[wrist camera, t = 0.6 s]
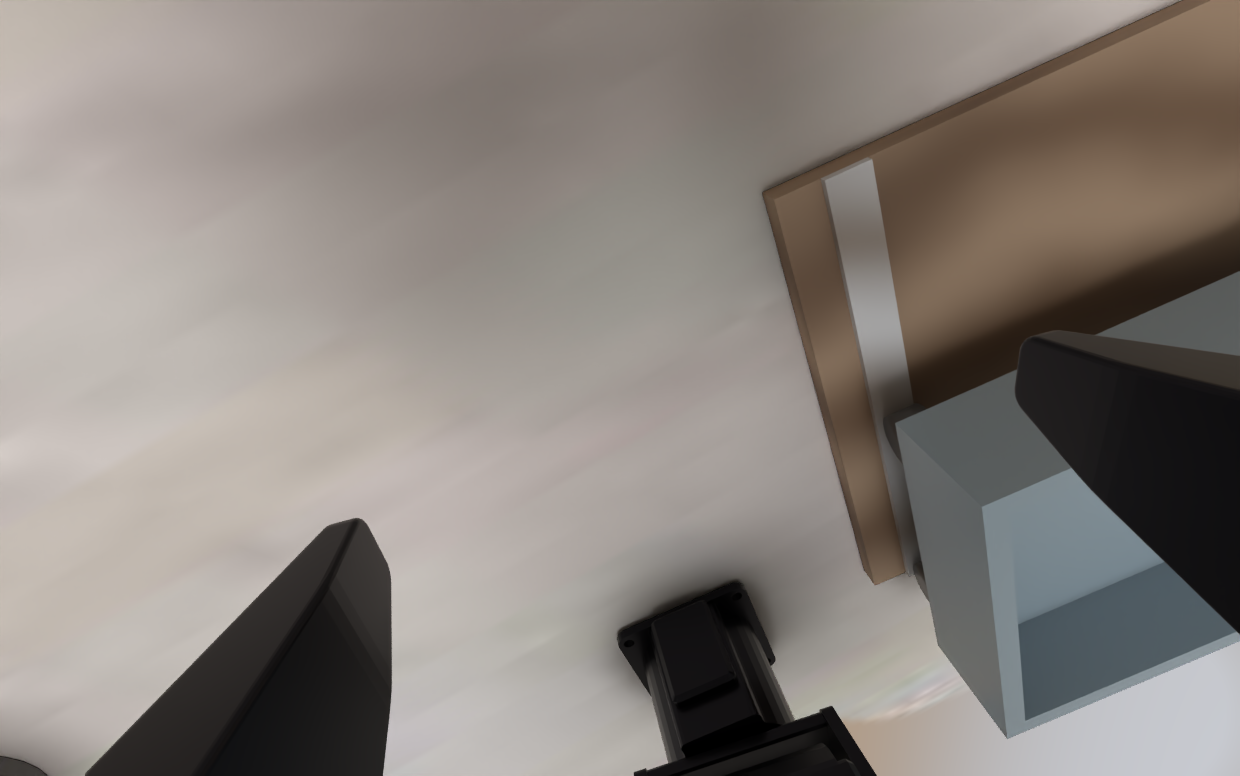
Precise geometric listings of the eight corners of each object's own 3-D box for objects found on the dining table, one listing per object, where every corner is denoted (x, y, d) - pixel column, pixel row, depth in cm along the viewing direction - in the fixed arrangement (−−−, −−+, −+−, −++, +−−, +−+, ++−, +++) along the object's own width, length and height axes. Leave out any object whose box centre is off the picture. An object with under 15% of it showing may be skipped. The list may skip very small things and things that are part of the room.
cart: (1287, 440, 31) (1479, 539, 25) (907, 604, 31) (1007, 738, 25) (1351, 170, 24) (1641, 220, 18) (859, 389, 24) (981, 506, 18)
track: (1286, 386, 31) (1316, 400, 30) (864, 570, 32) (878, 590, 31) (1394, -97, 21) (1446, -104, 19) (762, 192, 21) (777, 202, 20)
